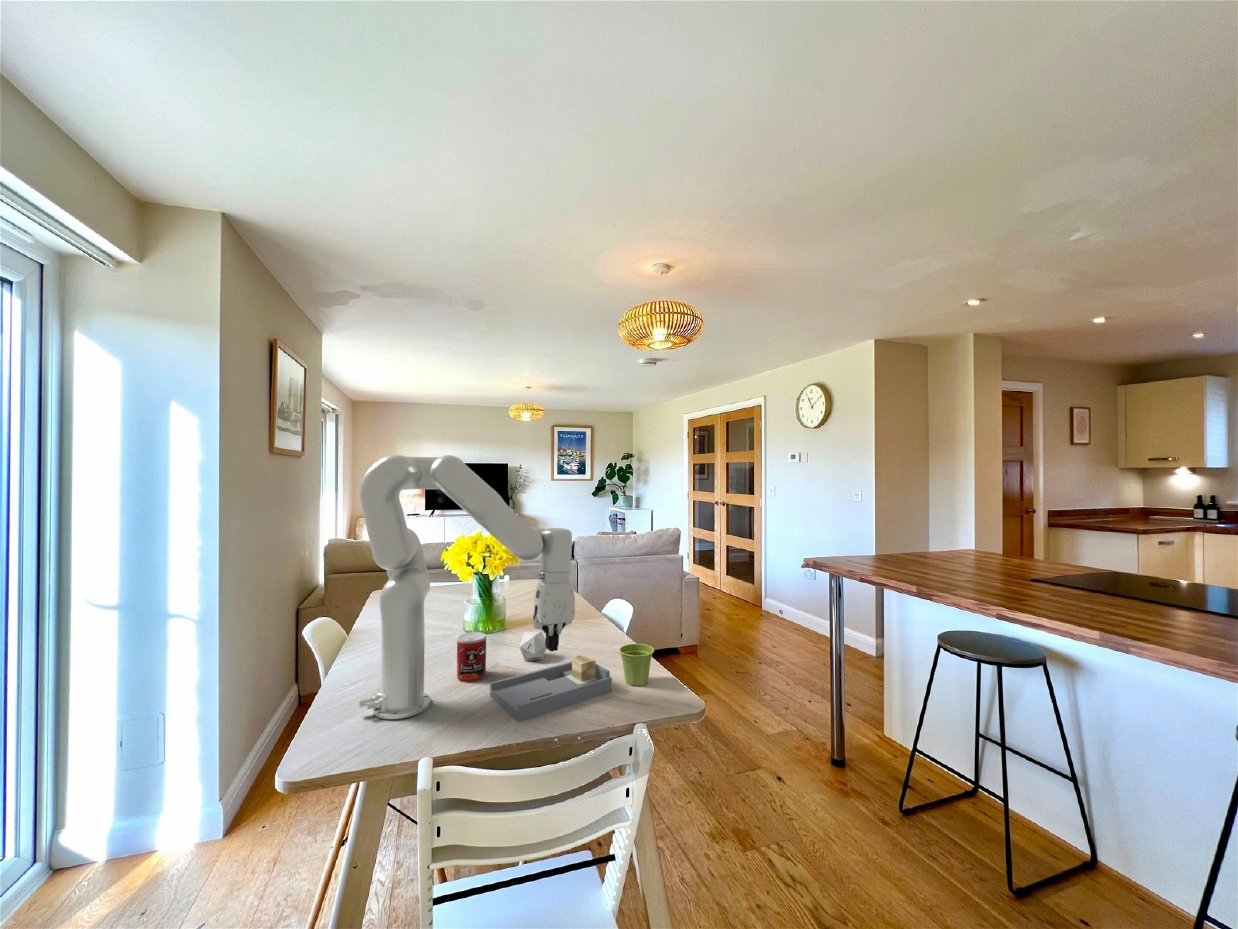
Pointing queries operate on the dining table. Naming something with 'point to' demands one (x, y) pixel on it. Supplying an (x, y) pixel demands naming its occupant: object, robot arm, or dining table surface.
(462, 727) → the dining table surface
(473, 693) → the dining table surface
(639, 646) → the plant pot
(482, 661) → the canned food
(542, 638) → the die
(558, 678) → the box
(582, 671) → the block
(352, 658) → the dining table surface
